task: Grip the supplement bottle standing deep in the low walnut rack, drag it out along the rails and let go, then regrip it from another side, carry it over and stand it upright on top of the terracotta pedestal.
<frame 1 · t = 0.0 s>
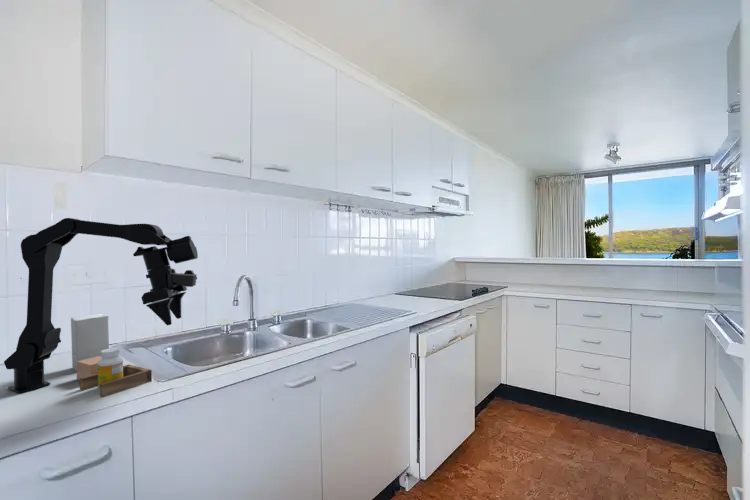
hand: (174, 321, 104), 15 cm above the counter, tool pointing down, fingers open, 9 cm apart
terracotta pedestal: (98, 377, 103), on the counter
walnut rack: (116, 385, 98), on the counter
skincare box: (90, 367, 112), on the counter
supplement bottle: (110, 388, 96), on the counter
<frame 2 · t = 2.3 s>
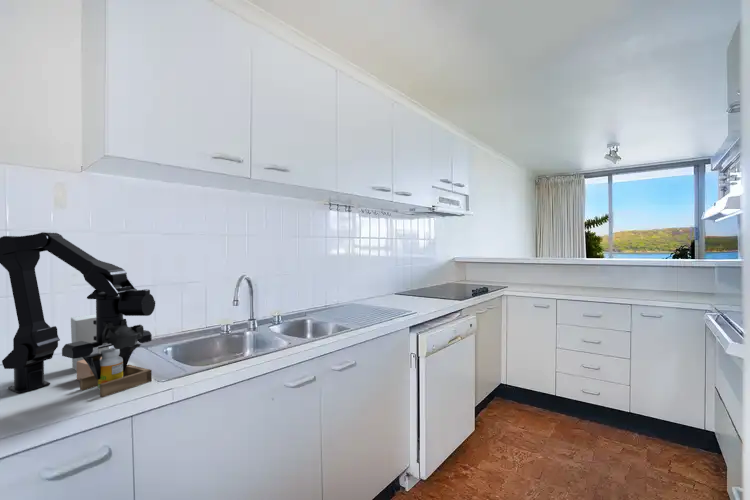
hand: (110, 375, 96), 3 cm above the counter, tool pointing down, fingers closed on supplement bottle, 5 cm apart
supplement bottle: (110, 387, 96), on the counter, touching gripper
everything else where it was.
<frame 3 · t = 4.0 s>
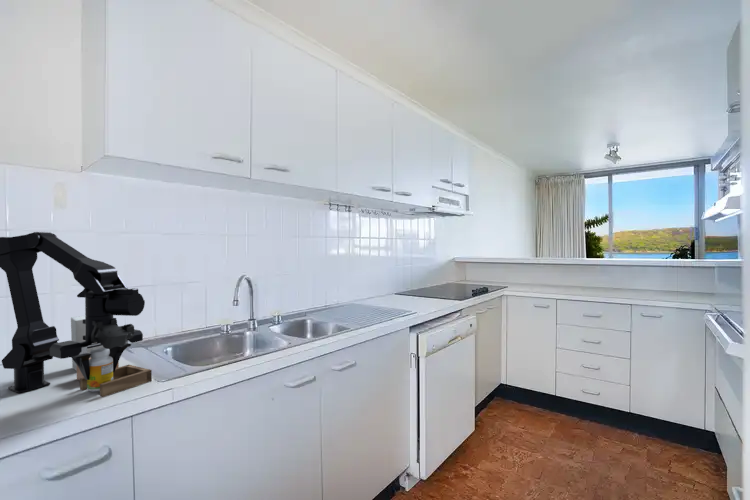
hand: (100, 375, 94), 4 cm above the counter, tool pointing down, fingers closed on supplement bottle, 5 cm apart
supplement bottle: (100, 388, 94), on the counter, touching gripper
everything else where it was.
when the fingers open (4 cm above the counter, at t = 5.9 s): supplement bottle stays where it is, on the counter.
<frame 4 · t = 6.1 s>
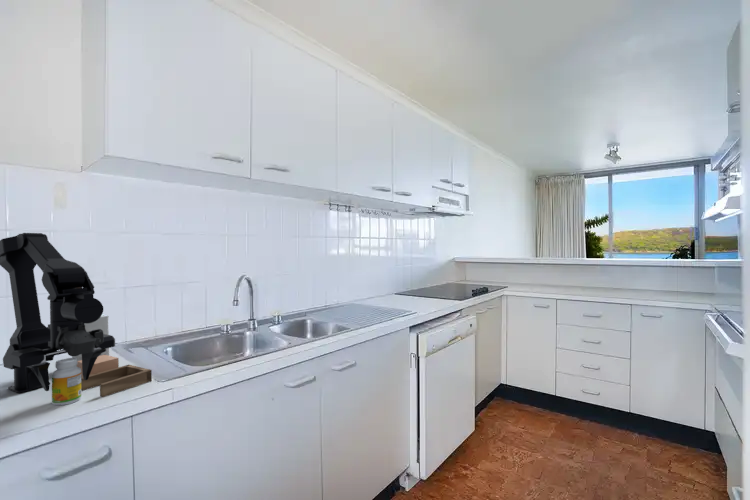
hand: (67, 385, 88), 4 cm above the counter, tool pointing down, fingers open, 7 cm apart
supplement bottle: (67, 401, 88), on the counter
everything else where it was.
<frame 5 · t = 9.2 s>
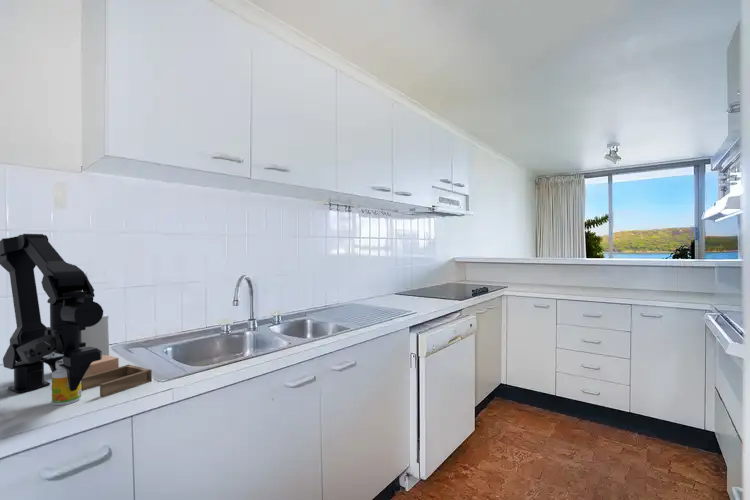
hand: (66, 388, 88), 3 cm above the counter, tool pointing down, fingers closed on supplement bottle, 5 cm apart
supplement bottle: (67, 401, 88), on the counter, touching gripper
everything else where it was.
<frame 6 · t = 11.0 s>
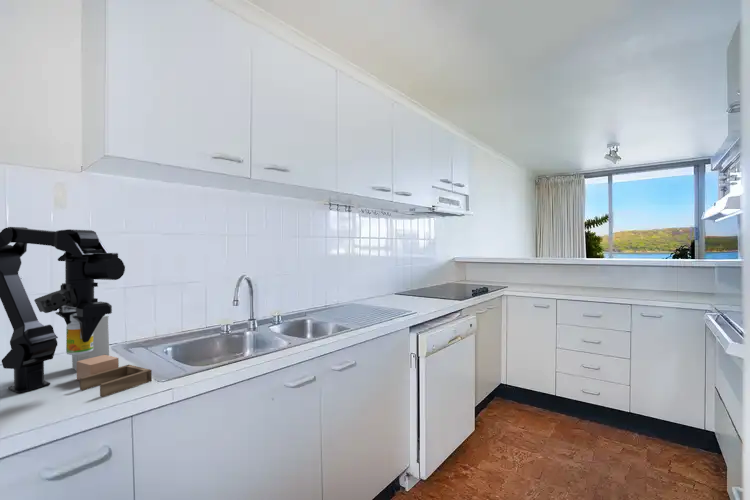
hand: (80, 340, 94), 13 cm above the counter, tool pointing down, fingers closed on supplement bottle, 5 cm apart
supplement bottle: (80, 352, 94), point 10 cm above the counter, touching gripper
everything else where it was.
when the fingers open (9 cm above the counter, at t = 12.8 s): supplement bottle drops 1 cm, resting on terracotta pedestal.
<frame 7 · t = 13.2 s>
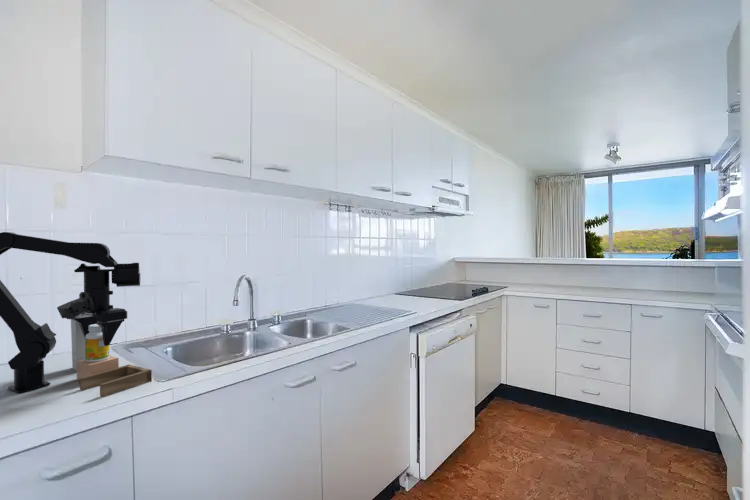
hand: (97, 343, 103), 9 cm above the counter, tool pointing down, fingers open, 9 cm apart
supplement bottle: (97, 360, 103), point 5 cm above the counter, touching terracotta pedestal
everything else where it was.
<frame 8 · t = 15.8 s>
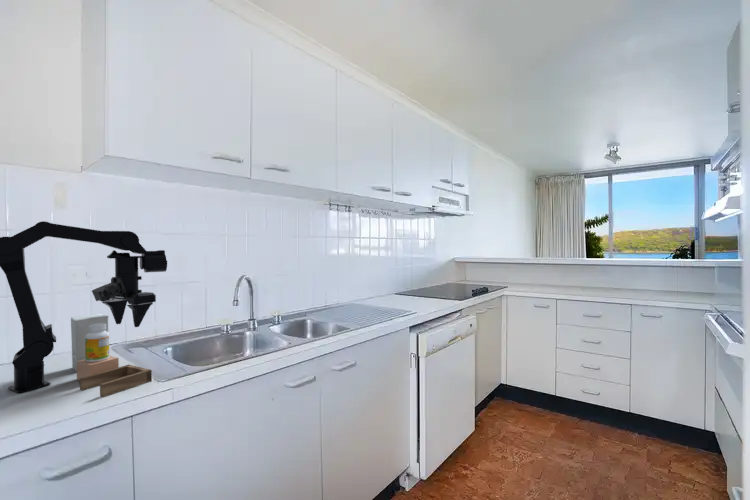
hand: (127, 325, 110), 13 cm above the counter, tool pointing down, fingers open, 9 cm apart
nothing on the counter moved.
at the end: supplement bottle 0.1 cm off-centre on the terracotta pedestal, point 4.8 cm above the terracotta pedestal's base; supplement bottle tilted 0°; the gripper is holding nothing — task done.
